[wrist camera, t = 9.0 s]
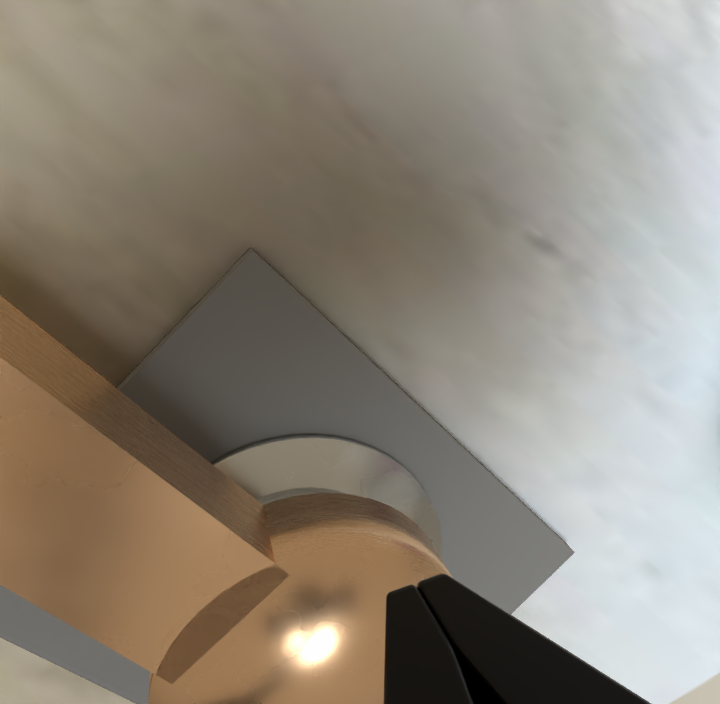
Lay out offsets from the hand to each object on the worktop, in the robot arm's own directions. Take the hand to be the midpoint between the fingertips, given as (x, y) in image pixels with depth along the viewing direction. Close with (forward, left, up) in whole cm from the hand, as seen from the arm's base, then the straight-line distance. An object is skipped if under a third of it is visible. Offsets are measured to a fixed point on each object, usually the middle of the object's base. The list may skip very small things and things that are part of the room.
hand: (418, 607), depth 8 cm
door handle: (-5, -1, -9) cm, 10 cm away
